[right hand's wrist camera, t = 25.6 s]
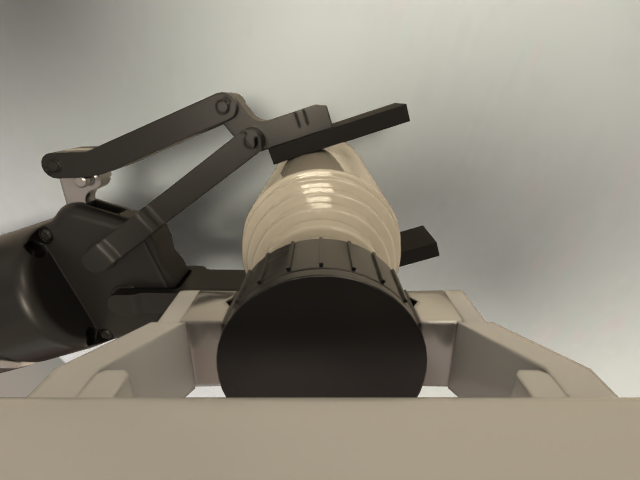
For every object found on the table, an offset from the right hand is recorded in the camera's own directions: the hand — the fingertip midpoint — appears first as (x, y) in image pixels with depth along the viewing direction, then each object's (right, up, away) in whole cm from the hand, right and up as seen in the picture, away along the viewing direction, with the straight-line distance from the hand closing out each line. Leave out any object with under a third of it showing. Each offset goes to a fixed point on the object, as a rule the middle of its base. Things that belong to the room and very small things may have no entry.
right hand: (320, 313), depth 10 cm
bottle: (0, +6, +16) cm, 17 cm away
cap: (0, -1, -2) cm, 2 cm away
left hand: (+5, +5, +9) cm, 11 cm away
